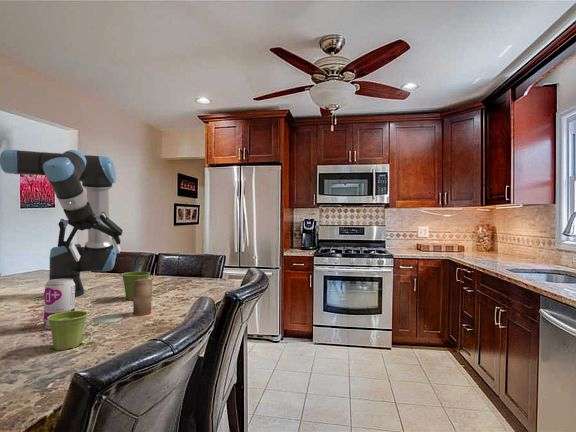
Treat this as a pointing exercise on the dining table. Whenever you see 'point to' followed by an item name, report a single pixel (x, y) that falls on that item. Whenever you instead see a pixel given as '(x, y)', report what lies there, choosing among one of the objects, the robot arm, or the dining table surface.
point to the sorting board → (116, 317)
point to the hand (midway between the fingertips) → (99, 255)
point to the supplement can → (58, 298)
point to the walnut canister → (142, 297)
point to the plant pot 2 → (132, 282)
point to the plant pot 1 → (67, 328)
